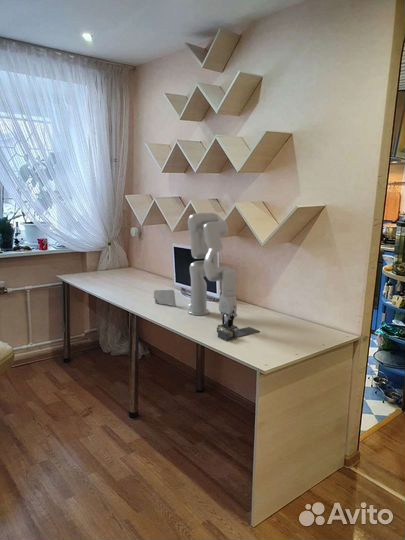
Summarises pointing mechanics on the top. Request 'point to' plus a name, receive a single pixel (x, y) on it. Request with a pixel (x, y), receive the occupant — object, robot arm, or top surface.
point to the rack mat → (246, 331)
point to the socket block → (227, 334)
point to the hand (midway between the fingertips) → (227, 324)
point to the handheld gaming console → (165, 296)
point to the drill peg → (226, 320)
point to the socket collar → (230, 327)
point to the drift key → (225, 330)
